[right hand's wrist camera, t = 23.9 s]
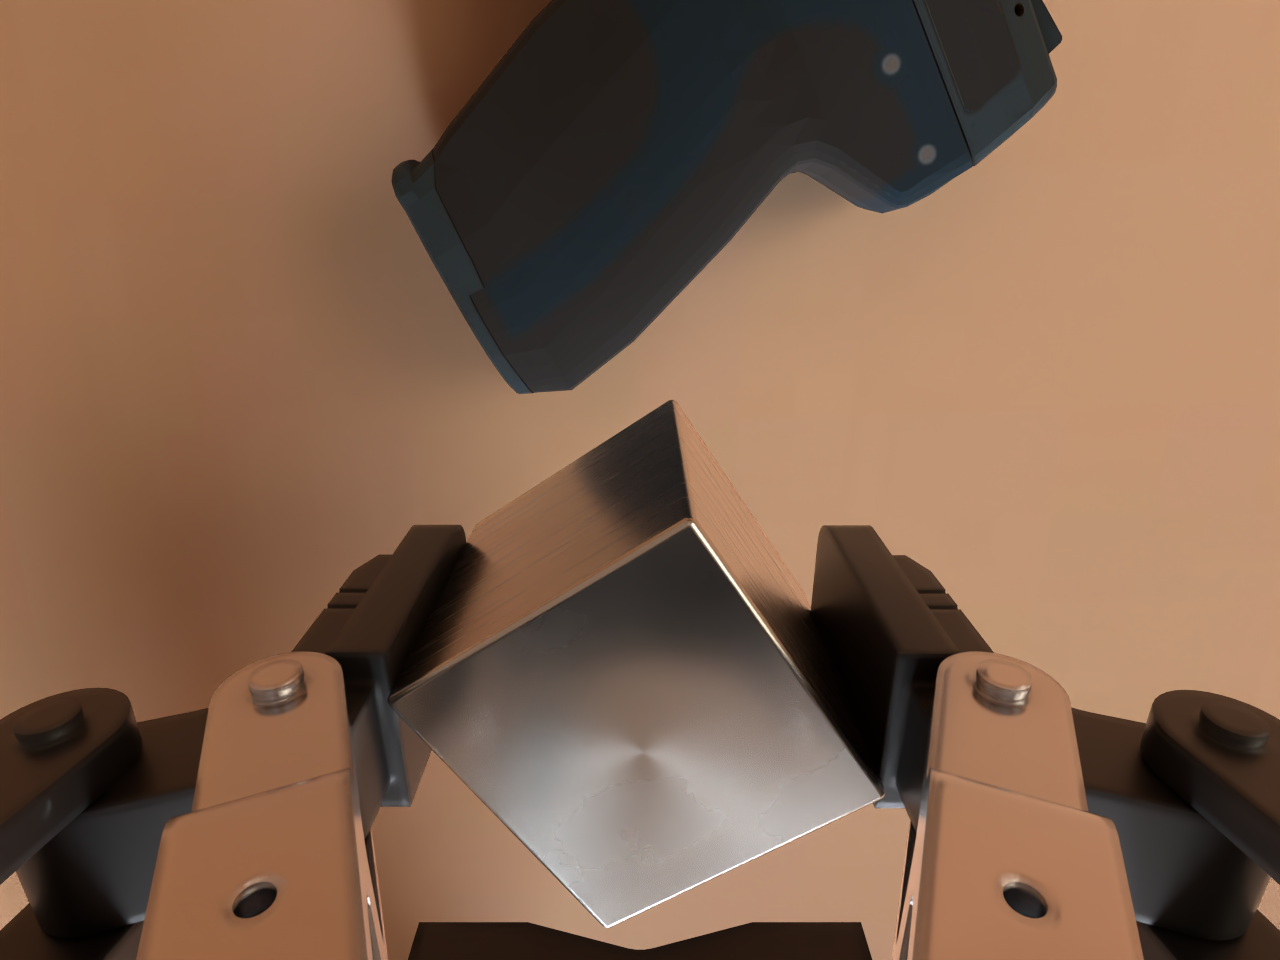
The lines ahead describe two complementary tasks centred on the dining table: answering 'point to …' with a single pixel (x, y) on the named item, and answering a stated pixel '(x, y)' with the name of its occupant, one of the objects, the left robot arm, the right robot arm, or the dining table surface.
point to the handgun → (695, 148)
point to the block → (636, 677)
